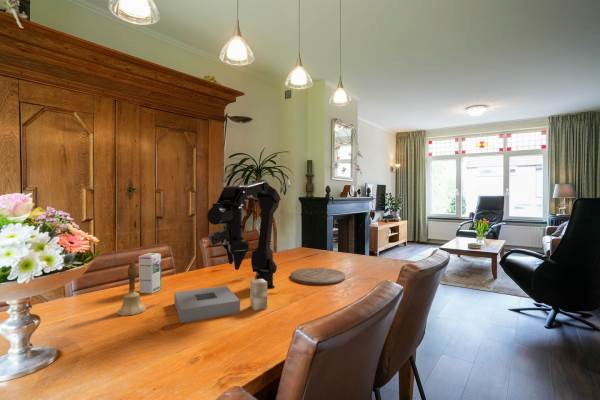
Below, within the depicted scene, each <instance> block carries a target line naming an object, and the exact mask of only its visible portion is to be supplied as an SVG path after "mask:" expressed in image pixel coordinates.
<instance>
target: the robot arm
mask: <svg viewBox="0 0 600 400" xmlns="http://www.w3.org/2000/svg"><path fill="white" fill-rule="evenodd" d="M253 195H255V198H256V199H257V200H258V206H259V208H260V212H261V217H260V223H259V225H260V226H259V232H258V242H257V247H256V249H255V250H252V252H251V258H250V263H251V264H250V265H251V269H252V272H253V273H255V275H254V280H256V279H264V280H265V281H267V289H271V288H272V289H273V288H275V285H274V274H276V272H277V268H278V266H277V264H276V263H275V261H274V253H273V252H272V250H271V239H272V230H273V221H274V214H275V212H276V211H277V210H278V208H279V204H280V201H281V195H280V194H279V192H278V191H277V189H275V188H274V187H272V186H271V185H270V184H269V183H268V181H264V180H263V181H261V180H259V181H254V182H252V183H249V184H244V185H225V186H224V187H223V189H222V191H221V193H220V195H219V197H218V200H217V201H216V202H215V203H212V207H210V209H209V210H208V212H207V214H206V216H207V220H208V222H209V223H210V224H211V225H213V226H214V225H215V226H216V225H222V229H220V230H216V231H214V232H212V233H210V234H207V237H208V240H209V243H210V244H211V245H212V246H216V245H217V244H218V243H220V246H222V247H223V248H224V249H225V253H226V256H227V257H226V258H227V263H228V264H229V265H232V264H233V265H234V266H233V268H234V270H236V271H239V269H240V267H241V264H242V263H243V260H244V259H245V256H246V255H247V252H248V251H249V250H250V243H249V242H248V241H247V240H245V239H244V236H243V229H244V225H243V209H246V206H245V205H244V203H243V202H244V201H246V200H247V199H248V197H249V196H253Z"/></svg>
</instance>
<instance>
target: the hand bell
mask: <svg viewBox="0 0 600 400" xmlns="http://www.w3.org/2000/svg"><path fill="white" fill-rule="evenodd" d="M137 271H138V270H137V266H136V263H135V261H130V262H129V266H128V268H127V278H128V281H129V283H128V285H129V286H128V293H126V294H125V295H124V296H123V300H122V305H121V306H120V308H119V309H118V310H117V312H116V314H117V316H118V315H119V316H124V317H125V316H133V315H139V314H141V313H143V312H145V311H147V307H146V306H145V305H144V304H143V303H142V301H141V296H140V292H136V283H135V281H136V278H137V273H138V272H137Z"/></svg>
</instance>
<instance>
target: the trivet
mask: <svg viewBox="0 0 600 400" xmlns="http://www.w3.org/2000/svg"><path fill="white" fill-rule="evenodd" d="M289 277H291V278H290V280H291V279H292V282H294V283H297V284H301V283H302V285H306V284H308V285H307V286H317V285H319V286H332V285H331V284H333V285H337V284H336V283H338V284H341V283H343V282H344V281H346V274H345V273H344V272H342V271H340V270H337V269H333V268H328V267H304V268H303V267H302V268H298V269H294V270H293V271H291V273H290V275H289ZM342 281H343V282H342ZM340 282H341V283H340Z"/></svg>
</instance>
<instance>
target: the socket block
mask: <svg viewBox="0 0 600 400" xmlns="http://www.w3.org/2000/svg"><path fill="white" fill-rule="evenodd" d="M173 294H174V295H173V296H174V307H175V310H176V313H177V317H178V319H179V322H180V324H183V323H188V322H190V323H191V322H195V321H201V320H207V319H213V318H217V317H224V316H230V315H236V314H241V299H240V298H238V297H237V295H235V294H234V292H233V291H232V290H231V288H229V287H228V286H227V285H222V286H214V287H205V288H197V289H190V290H182V291H175V292H174V293H173Z"/></svg>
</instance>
